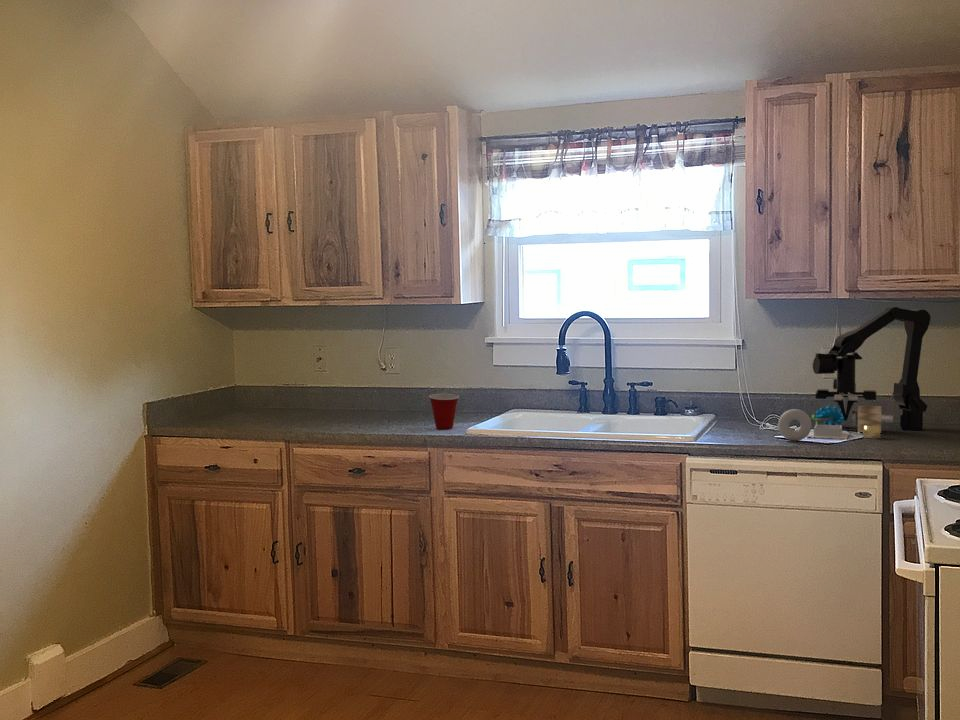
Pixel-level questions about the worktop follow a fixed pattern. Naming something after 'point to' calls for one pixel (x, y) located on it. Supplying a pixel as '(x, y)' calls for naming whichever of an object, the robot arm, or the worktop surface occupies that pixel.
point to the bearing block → (869, 416)
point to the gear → (828, 416)
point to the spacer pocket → (828, 432)
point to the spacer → (871, 431)
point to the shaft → (883, 418)
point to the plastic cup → (444, 409)
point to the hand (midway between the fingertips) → (845, 420)
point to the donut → (794, 415)
